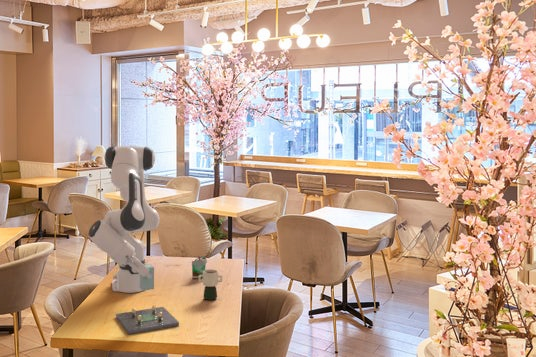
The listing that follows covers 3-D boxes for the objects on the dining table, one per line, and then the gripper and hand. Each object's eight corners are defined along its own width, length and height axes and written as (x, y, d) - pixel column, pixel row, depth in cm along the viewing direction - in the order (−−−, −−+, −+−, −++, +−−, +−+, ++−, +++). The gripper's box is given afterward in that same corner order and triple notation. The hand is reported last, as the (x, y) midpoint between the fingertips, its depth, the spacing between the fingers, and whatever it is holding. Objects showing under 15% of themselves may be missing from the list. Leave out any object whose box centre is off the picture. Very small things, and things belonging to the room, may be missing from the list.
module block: (139, 287, 211) (139, 265, 210) (150, 286, 213) (150, 264, 213) (142, 290, 207) (142, 268, 206) (154, 289, 209) (154, 267, 209)
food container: (203, 281, 269) (203, 261, 268) (191, 280, 270) (191, 261, 269) (209, 274, 281) (209, 256, 280) (198, 273, 282) (198, 255, 281)
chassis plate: (116, 317, 216) (115, 306, 215) (163, 310, 225) (163, 299, 225) (128, 334, 198) (128, 323, 198) (178, 325, 208) (179, 314, 207)
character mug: (222, 296, 245) (222, 269, 244) (221, 301, 238) (222, 273, 237) (198, 296, 245) (199, 269, 243) (197, 301, 237) (198, 273, 236)
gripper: (136, 253, 196) (161, 275, 202) (123, 242, 214) (146, 263, 220) (124, 266, 195) (150, 288, 200) (112, 254, 212) (136, 274, 218)
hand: (148, 275), depth 210 cm, fingers closed on module block, 4 cm apart
